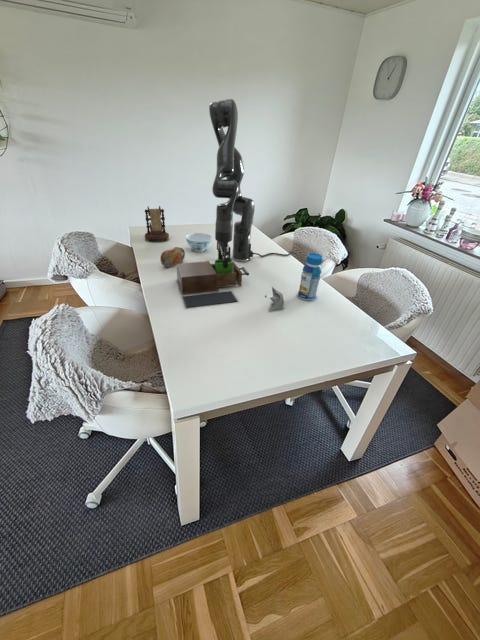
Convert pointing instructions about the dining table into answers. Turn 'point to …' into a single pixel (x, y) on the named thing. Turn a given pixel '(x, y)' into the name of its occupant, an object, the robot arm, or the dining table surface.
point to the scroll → (155, 225)
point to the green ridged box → (220, 269)
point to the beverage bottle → (310, 277)
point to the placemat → (209, 299)
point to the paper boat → (276, 300)
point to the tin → (172, 256)
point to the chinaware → (198, 241)
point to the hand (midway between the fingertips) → (222, 264)
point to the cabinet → (196, 277)
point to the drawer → (230, 276)
